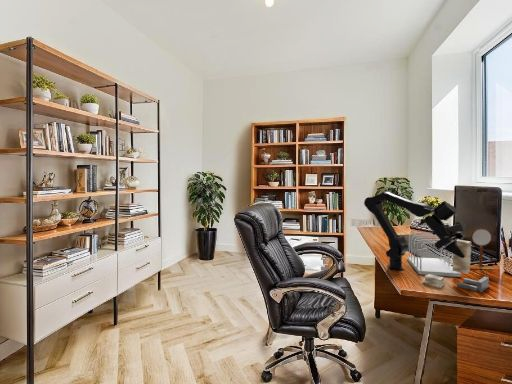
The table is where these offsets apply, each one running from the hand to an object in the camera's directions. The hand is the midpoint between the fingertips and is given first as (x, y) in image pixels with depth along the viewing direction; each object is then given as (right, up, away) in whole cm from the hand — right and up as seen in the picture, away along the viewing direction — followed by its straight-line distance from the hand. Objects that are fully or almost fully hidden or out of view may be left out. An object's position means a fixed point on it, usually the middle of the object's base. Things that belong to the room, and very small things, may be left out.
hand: (465, 256), depth 126 cm
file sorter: (0, -11, +24) cm, 26 cm away
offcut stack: (-12, -13, +3) cm, 18 cm away
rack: (+1, -12, -1) cm, 12 cm away
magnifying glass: (+22, -11, +21) cm, 32 cm away
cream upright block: (-1, -7, +2) cm, 7 cm away
